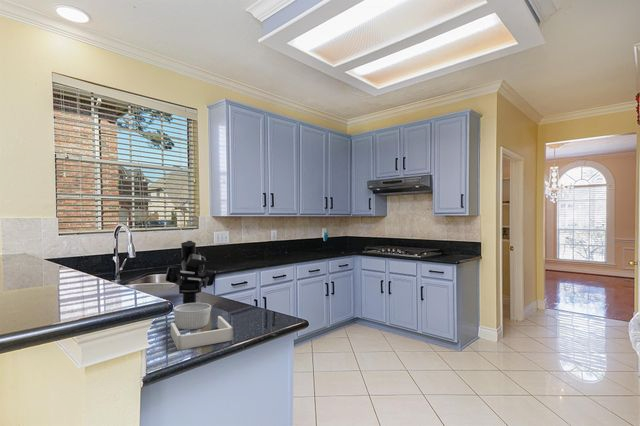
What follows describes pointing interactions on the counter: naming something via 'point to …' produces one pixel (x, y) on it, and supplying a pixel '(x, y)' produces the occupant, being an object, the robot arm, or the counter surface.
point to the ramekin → (192, 315)
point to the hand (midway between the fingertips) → (193, 285)
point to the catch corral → (202, 336)
